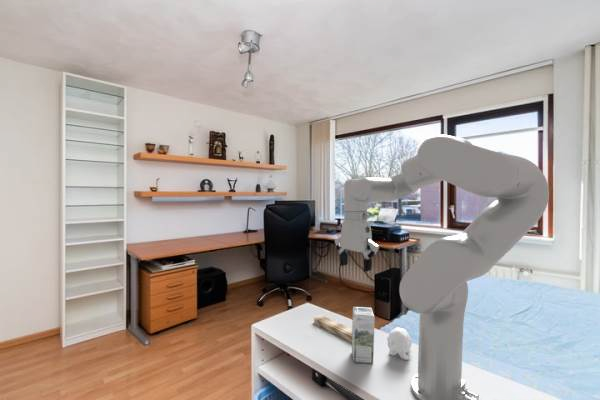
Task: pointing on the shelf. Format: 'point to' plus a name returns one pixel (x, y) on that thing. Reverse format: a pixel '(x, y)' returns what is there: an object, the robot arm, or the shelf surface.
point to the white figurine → (399, 342)
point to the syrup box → (363, 335)
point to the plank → (334, 327)
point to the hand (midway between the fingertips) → (355, 267)
